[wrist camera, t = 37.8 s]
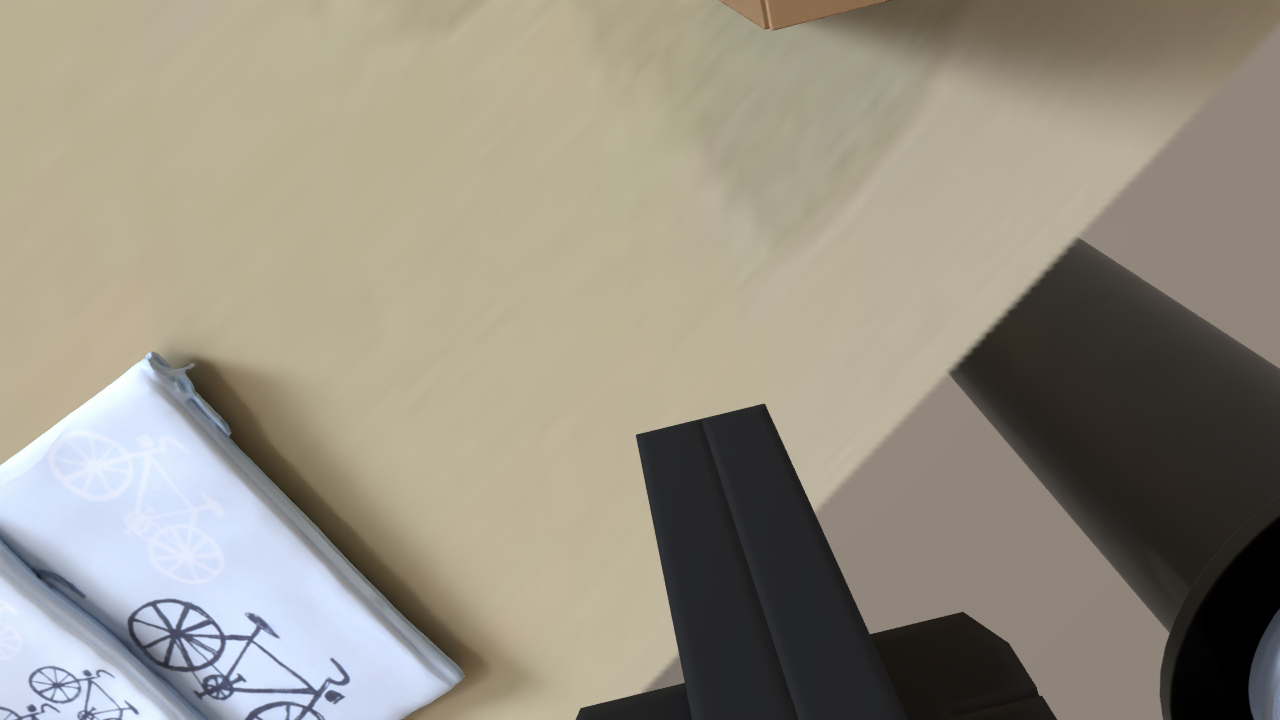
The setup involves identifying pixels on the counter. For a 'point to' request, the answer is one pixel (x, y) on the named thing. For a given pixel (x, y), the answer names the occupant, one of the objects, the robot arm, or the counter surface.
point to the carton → (750, 10)
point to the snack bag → (184, 579)
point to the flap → (809, 10)
